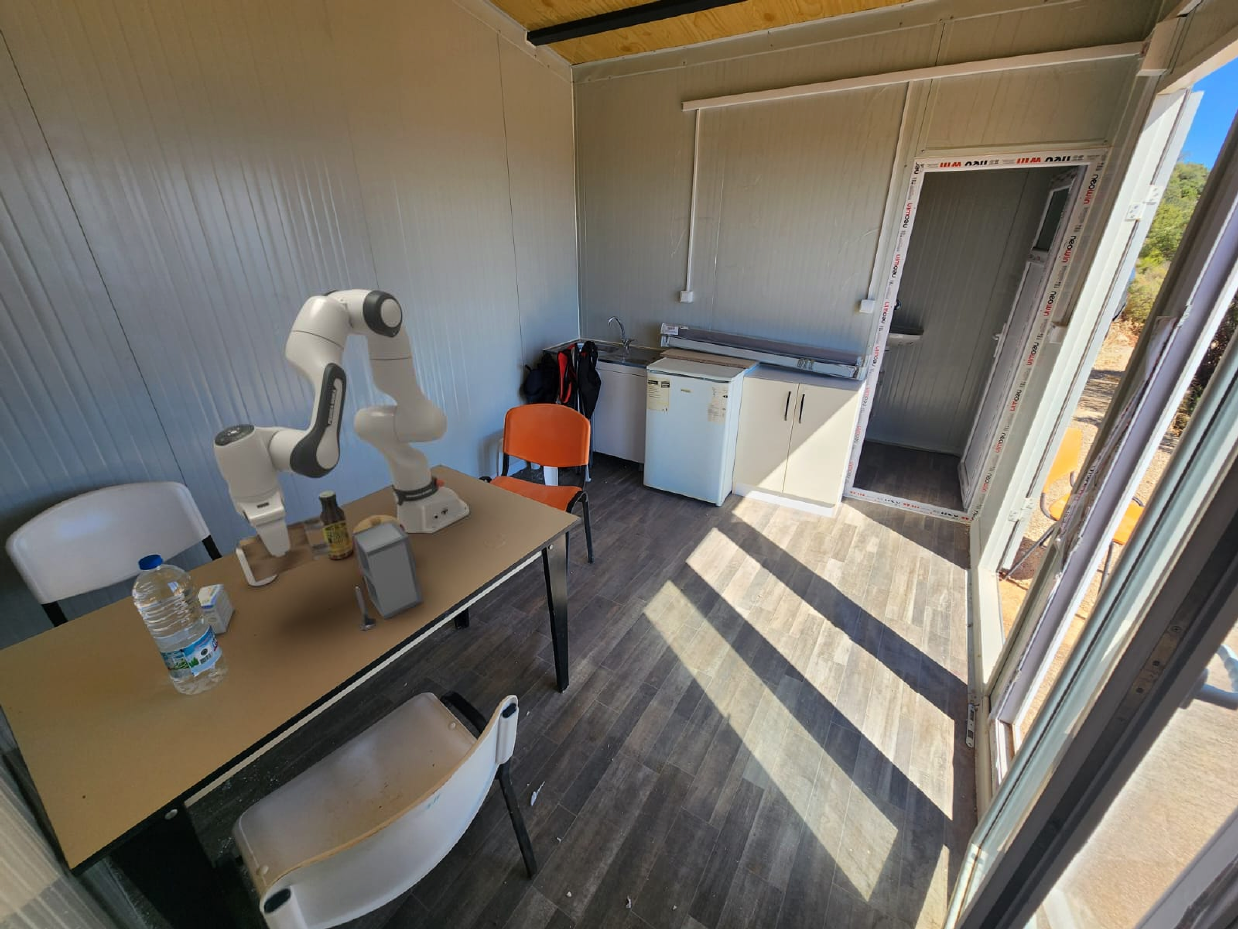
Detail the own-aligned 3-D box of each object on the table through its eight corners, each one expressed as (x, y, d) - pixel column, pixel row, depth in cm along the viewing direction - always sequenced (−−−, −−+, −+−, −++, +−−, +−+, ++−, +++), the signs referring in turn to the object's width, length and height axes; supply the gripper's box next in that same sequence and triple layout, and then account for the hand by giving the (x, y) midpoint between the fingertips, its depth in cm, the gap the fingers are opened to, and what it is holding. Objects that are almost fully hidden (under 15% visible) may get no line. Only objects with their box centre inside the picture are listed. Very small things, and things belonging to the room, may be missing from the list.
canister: (376, 554, 142) (362, 502, 134) (419, 556, 142) (409, 504, 134) (351, 584, 131) (335, 528, 123) (399, 586, 130) (386, 530, 122)
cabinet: (407, 582, 132) (392, 519, 123) (422, 601, 125) (408, 536, 116) (370, 598, 126) (352, 533, 117) (384, 619, 119) (366, 552, 110)
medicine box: (213, 615, 120) (200, 587, 116) (235, 610, 122) (222, 582, 118) (203, 638, 113) (189, 609, 110) (226, 632, 115) (213, 603, 111)
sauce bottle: (332, 563, 138) (314, 502, 130) (326, 553, 142) (308, 493, 134) (357, 554, 142) (341, 494, 133) (351, 544, 146) (334, 486, 138)
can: (263, 588, 129) (249, 551, 123) (242, 585, 130) (227, 547, 124) (283, 573, 134) (270, 536, 129) (263, 569, 135) (249, 533, 130)
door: (328, 548, 122) (317, 514, 118) (333, 555, 120) (322, 520, 115) (253, 575, 113) (238, 540, 108) (256, 584, 110) (241, 548, 106)
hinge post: (373, 617, 120) (362, 579, 115) (378, 625, 118) (368, 587, 112) (357, 624, 118) (346, 586, 113) (362, 632, 115) (351, 594, 110)
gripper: (233, 486, 111) (253, 536, 117) (250, 524, 98) (272, 578, 104) (266, 477, 115) (283, 526, 121) (286, 512, 102) (305, 565, 108)
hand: (278, 550), depth 113 cm, fingers closed on door, 2 cm apart
